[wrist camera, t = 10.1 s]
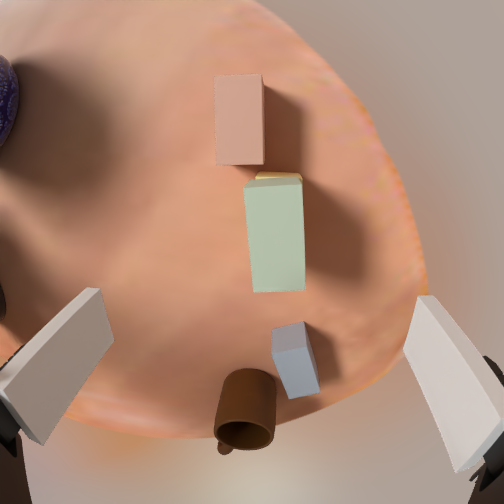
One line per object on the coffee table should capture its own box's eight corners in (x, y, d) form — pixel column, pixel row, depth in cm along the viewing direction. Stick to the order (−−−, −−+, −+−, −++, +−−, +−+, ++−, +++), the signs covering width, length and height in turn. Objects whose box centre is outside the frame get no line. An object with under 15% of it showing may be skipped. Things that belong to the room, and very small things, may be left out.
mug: (249, 420, 43) (243, 467, 34) (206, 404, 42) (193, 451, 33) (286, 378, 38) (286, 431, 30) (237, 358, 38) (226, 411, 29)
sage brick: (301, 264, 27) (305, 290, 22) (257, 266, 28) (253, 292, 23) (297, 176, 24) (301, 184, 20) (250, 179, 25) (243, 188, 20)
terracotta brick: (265, 161, 29) (263, 164, 24) (226, 161, 29) (216, 165, 25) (264, 84, 26) (261, 73, 21) (224, 86, 26) (214, 76, 22)
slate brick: (317, 366, 38) (320, 392, 33) (288, 372, 38) (289, 399, 34) (303, 320, 35) (306, 346, 30) (272, 328, 36) (270, 354, 31)
